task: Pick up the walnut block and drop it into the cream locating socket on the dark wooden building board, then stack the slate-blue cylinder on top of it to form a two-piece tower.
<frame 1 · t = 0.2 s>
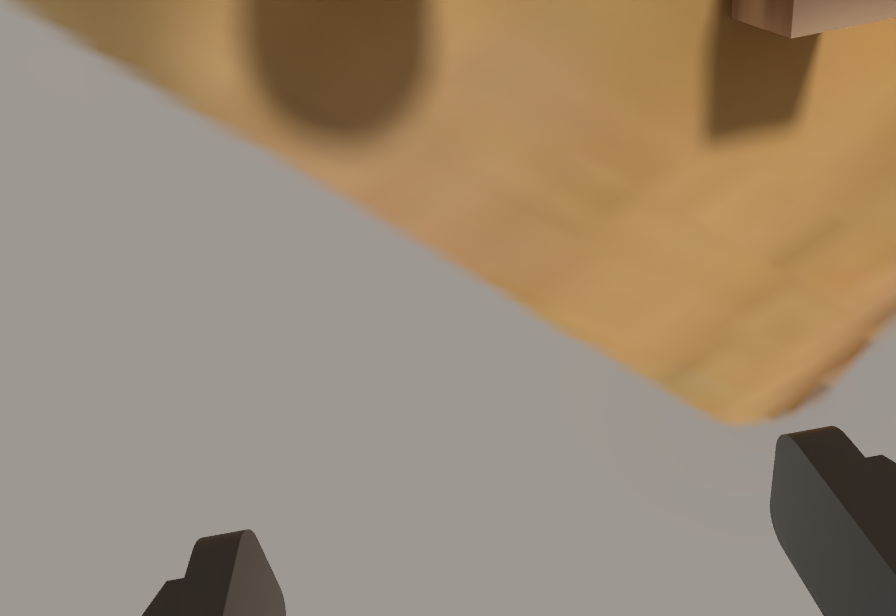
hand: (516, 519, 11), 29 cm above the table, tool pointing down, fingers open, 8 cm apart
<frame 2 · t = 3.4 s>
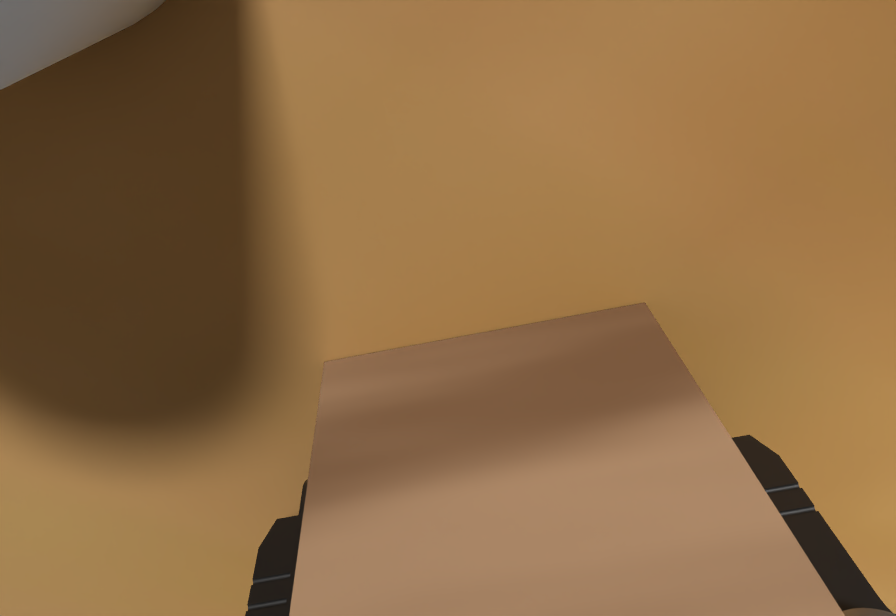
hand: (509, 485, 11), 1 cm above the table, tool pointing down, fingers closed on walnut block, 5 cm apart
walnut block: (504, 451, 12), on the table, touching gripper
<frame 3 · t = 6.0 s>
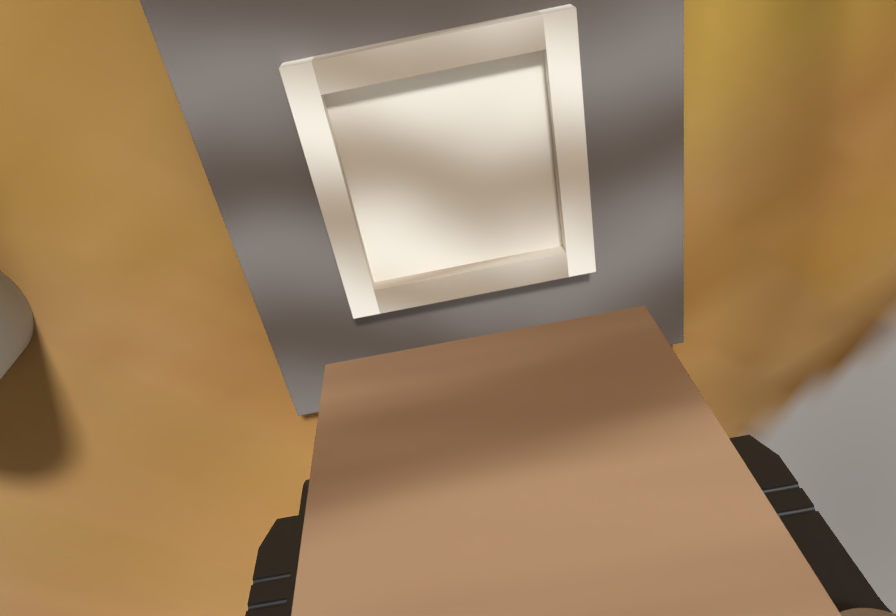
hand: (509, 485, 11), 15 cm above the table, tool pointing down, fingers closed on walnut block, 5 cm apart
walnut block: (504, 453, 12), point 15 cm above the table, touching gripper
building board: (448, 162, 24), on the table
when the fingers open (3 cm above the table, at t = 8.7 s): walnut block drops 1 cm, resting on building board.
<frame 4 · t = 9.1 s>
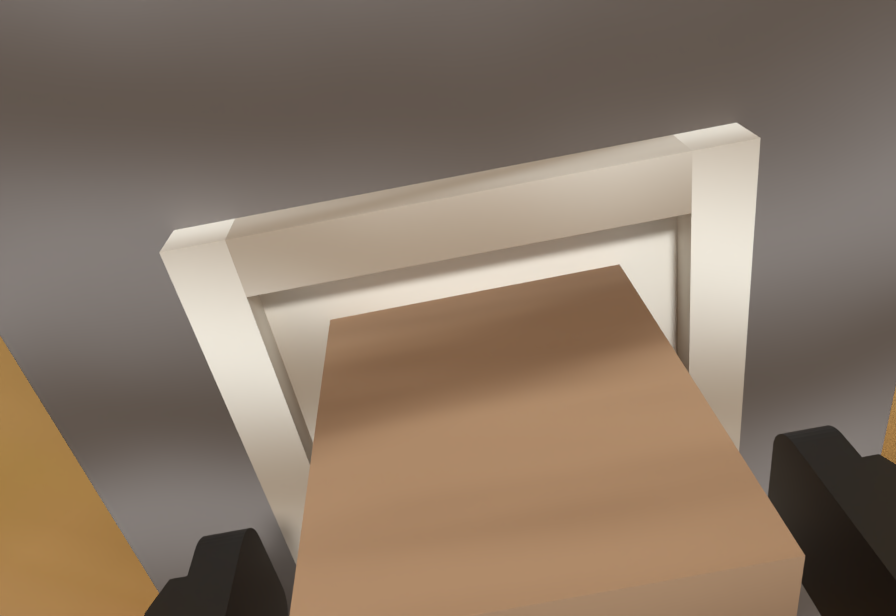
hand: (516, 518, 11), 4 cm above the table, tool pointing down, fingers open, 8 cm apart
walnut block: (494, 405, 13), point 1 cm above the table, touching building board
building board: (485, 367, 14), on the table
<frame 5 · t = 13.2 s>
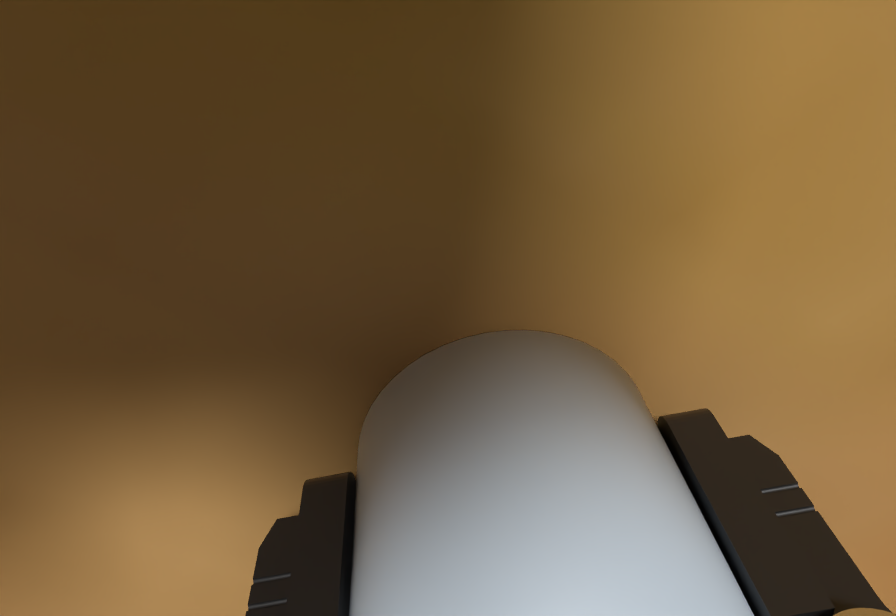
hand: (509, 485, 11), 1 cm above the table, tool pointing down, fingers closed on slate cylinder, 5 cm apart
slate cylinder: (504, 452, 12), on the table, touching gripper
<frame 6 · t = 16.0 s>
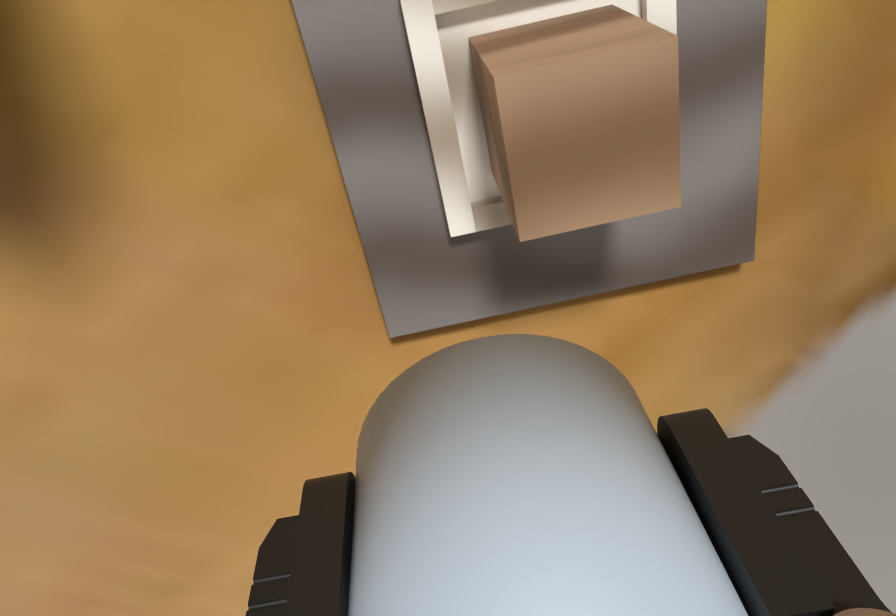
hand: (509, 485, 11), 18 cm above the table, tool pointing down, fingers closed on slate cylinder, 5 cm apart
walnut block: (548, 93, 25), point 1 cm above the table, touching building board
slate cylinder: (502, 455, 12), point 17 cm above the table, touching gripper
building board: (541, 85, 26), on the table
when the fingers open (9 cm above the table, at t = 18.8 s): slate cylinder stays where it is, resting on walnut block.
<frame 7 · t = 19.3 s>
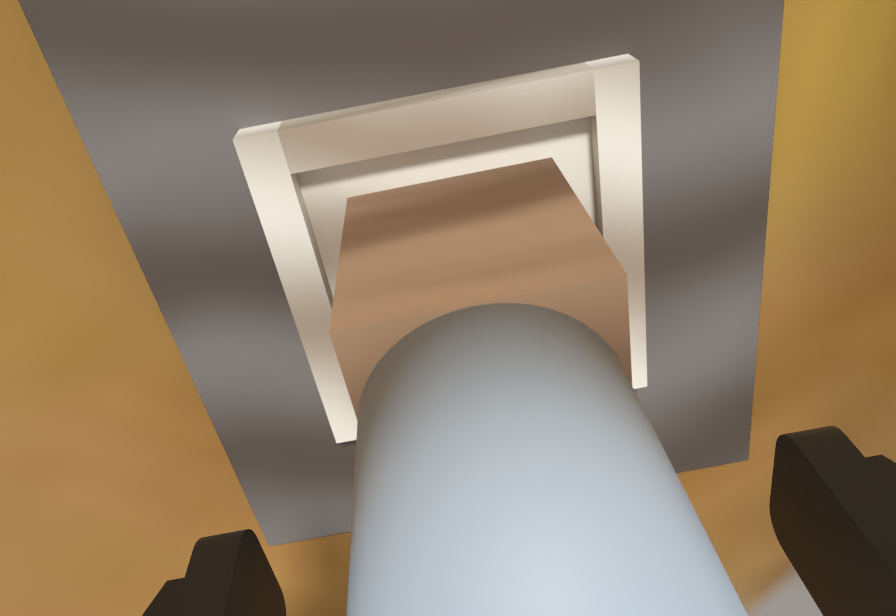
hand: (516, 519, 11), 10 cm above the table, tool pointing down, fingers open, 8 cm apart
walnut block: (466, 268, 18), point 1 cm above the table, touching building board, slate cylinder
slate cylinder: (494, 419, 13), point 7 cm above the table, touching walnut block
building board: (460, 247, 19), on the table
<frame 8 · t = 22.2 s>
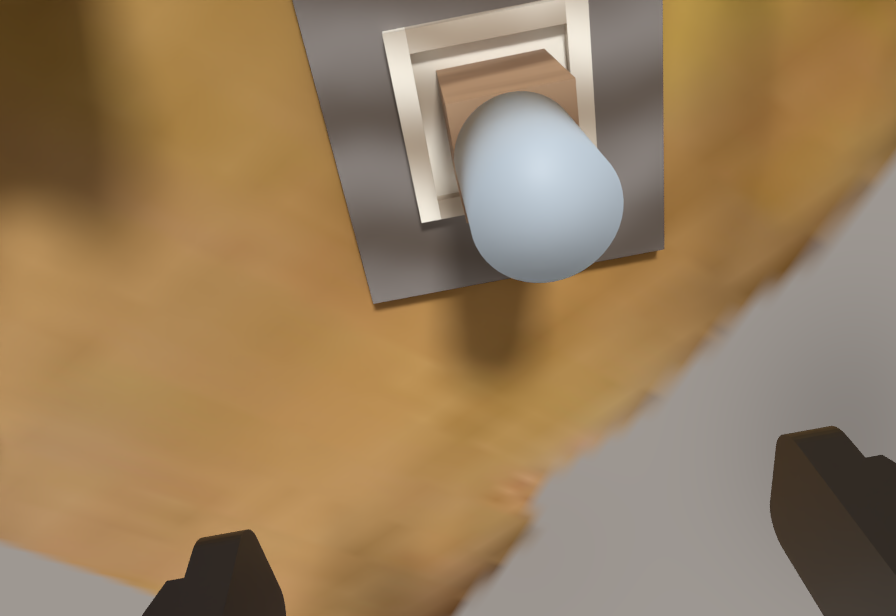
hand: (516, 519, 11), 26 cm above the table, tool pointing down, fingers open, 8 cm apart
walnut block: (497, 113, 32), point 1 cm above the table, touching building board, slate cylinder
slate cylinder: (516, 155, 27), point 7 cm above the table, touching walnut block
building board: (493, 107, 33), on the table
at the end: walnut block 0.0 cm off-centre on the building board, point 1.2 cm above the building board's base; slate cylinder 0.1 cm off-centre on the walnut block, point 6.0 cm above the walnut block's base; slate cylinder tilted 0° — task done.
